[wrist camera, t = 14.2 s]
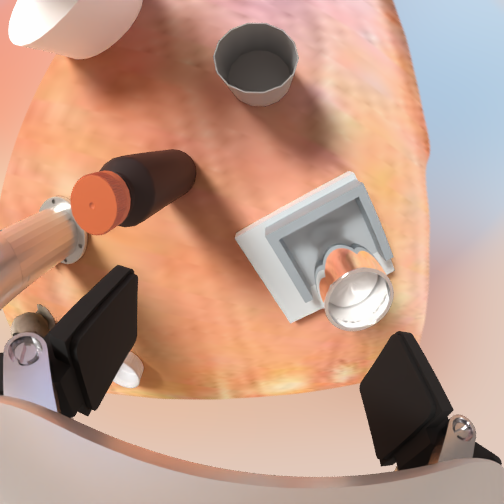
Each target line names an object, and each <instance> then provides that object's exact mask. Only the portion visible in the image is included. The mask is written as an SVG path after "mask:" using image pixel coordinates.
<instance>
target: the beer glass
mask: <svg viewBox="0 0 504 504" xmlns="http://www.w3.org/2000/svg"><path fill="white" fill-rule="evenodd" d="M308 250H309V253H310V255H311V256H312V258H313V259H314V260H315V264H314V279H315V285H316V289H317V293H318V296H319V299H320V301H321V303H322V306H323V308H324V310H325V313H326V316H327V318H328V320H329V321H330V322H331V323H332V324H333V325H334V326H335V327H337V328H339V329H342V330H346V331H359V330H363V329H366V328H369V327H371V326H373V325H374V324H376V323H377V322H379V321H380V320H381V319H382V318H383V317H384V316H385V315H386V313H387V312H388V310H389V309H390V307H391V304H392V301H393V295H394V291H393V286H392V283H391V281H390V279H389V278H388V277H387V275H386V273H385V271H384V269H383V268H382V266H381V265H380V263H379V262H378V260H377V259H376V258H375V256H374V255H373V254H372V253H371V252H370V251H369V250H368V249H366V248H365V247H364V246H362V245H361V244H359V243H358V242H356V241H354V240H352V239H351V235H350V233H349V231H348V230H347V228H346V227H345V226H344V225H342V224H340V223H338V222H334V221H327V222H323V223H321V224H319V225H317V226H316V227H315V228H314V229H313V230H312V231H311V233H310V235H309V238H308Z"/></svg>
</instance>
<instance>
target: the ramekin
mask: <svg viewBox="0 0 504 504" xmlns="http://www.w3.org/2000/svg"><path fill="white" fill-rule="evenodd" d="M143 370H144V366H143V363H142V361H141V360H140V359H139V357H138V356H136V355H135V354H134V353H132V352H131V351H130V352H129V354H128V355H127V357H126V359H125V360H124V362H123V364H122V366H121V367H120V369H119V371H118V373H117V374H116V376H115V378H114V380H113V381H114V382H115V383H117V384H119V385H121V386H123V387H127V388H135V387H137V386H138V385H139V383H140V379H141V376H142V373H143Z"/></svg>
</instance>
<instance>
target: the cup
mask: <svg viewBox="0 0 504 504" xmlns="http://www.w3.org/2000/svg"><path fill="white" fill-rule="evenodd" d="M213 58H214V63H215V68H216V72H217V74H218V75H219V76H220V77H221V79H222V80H223V81H224V83H225V84H226V85H227V86H228V88H229V89H230V90H231V91H232V93H233V94H234V95H235V96H236V97H237V99H238V100H240V101H242V102H244V103H246V104H248V105H250V106H268V105H270V104H273V103H275V102H278V101H279V100H280V99H281V98H282V97H283V96H284V95H285V94H286V93H287V92H288V90H289V87H290V85H291V82H292V79H293V76H294V73H295V70H296V66H297V63H298V59H299V57H298V53H297V49H296V45H295V42H294V41H293V40H292V39H291V38H290V37H289V36H288V35H287V34H286V33H285V32H284V31H283V30H282V29H279V28H277V27H275V26H272V25H270V24H267V23H246V24H243V25H241V26H238V27H235V28H233V29H230V30H229V31H228V32H227V33H226V34H225V35H224V36H223V37H222V38H221V39H220V40H219V41H218V44H217V47H216V50H215V53H214V56H213Z"/></svg>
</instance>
